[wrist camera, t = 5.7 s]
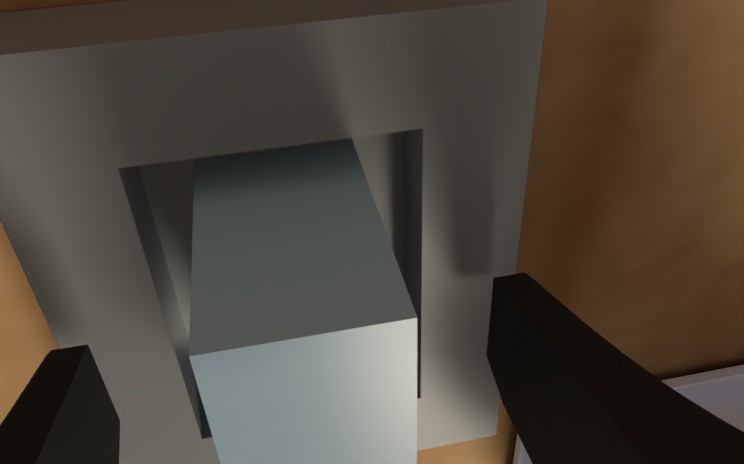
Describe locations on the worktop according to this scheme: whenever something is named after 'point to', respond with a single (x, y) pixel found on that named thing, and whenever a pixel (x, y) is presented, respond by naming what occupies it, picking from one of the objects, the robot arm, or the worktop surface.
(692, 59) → the worktop surface
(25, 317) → the worktop surface
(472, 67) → the grey slotted base
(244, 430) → the block
